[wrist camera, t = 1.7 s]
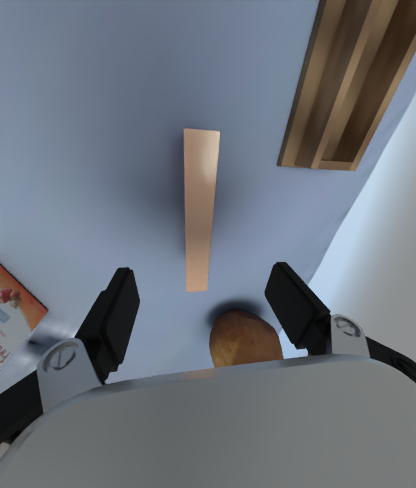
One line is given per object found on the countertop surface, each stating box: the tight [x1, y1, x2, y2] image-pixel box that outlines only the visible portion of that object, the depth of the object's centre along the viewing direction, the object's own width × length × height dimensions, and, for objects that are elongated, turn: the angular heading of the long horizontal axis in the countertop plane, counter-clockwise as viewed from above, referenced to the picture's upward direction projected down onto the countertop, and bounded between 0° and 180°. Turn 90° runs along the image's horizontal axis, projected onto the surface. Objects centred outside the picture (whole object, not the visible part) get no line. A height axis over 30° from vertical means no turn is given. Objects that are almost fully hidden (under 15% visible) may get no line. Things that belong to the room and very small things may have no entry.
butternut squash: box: [209, 310, 284, 368], centre depth 26 cm, size 14×13×25 cm
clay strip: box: [183, 128, 220, 292], centre depth 18 cm, size 16×2×8 cm, turn 176°
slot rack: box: [277, 0, 416, 171], centre depth 14 cm, size 21×9×4 cm, turn 176°
